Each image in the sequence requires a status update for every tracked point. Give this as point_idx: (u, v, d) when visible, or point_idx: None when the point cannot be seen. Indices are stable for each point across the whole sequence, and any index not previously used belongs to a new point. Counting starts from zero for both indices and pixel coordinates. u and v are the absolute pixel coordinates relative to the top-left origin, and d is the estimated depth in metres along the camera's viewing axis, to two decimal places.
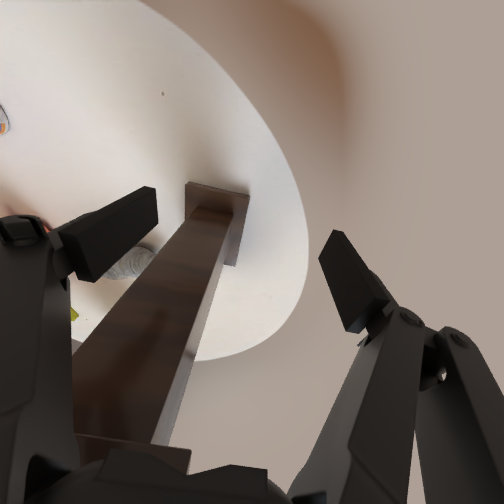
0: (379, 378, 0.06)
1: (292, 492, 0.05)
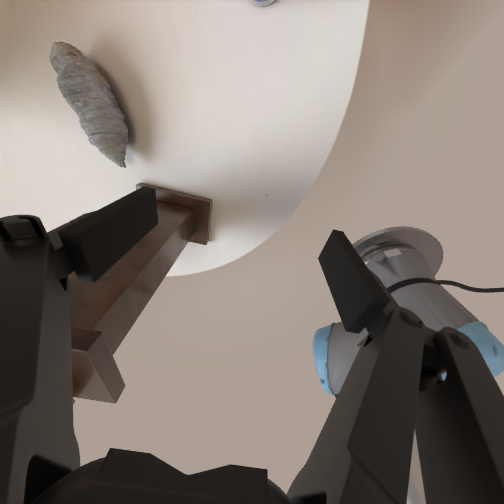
0: (380, 378, 0.06)
1: (292, 492, 0.05)
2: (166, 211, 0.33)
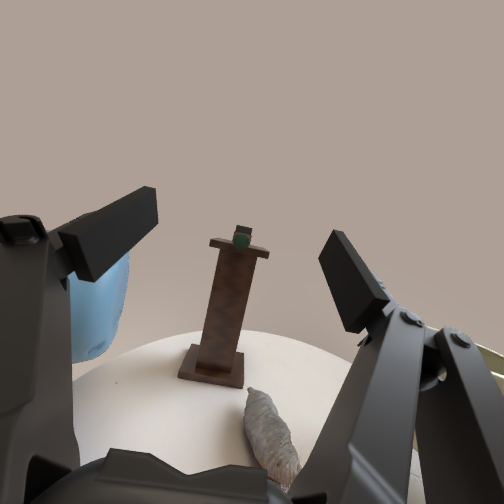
0: (379, 378, 0.06)
1: (292, 492, 0.05)
2: (215, 354, 0.41)
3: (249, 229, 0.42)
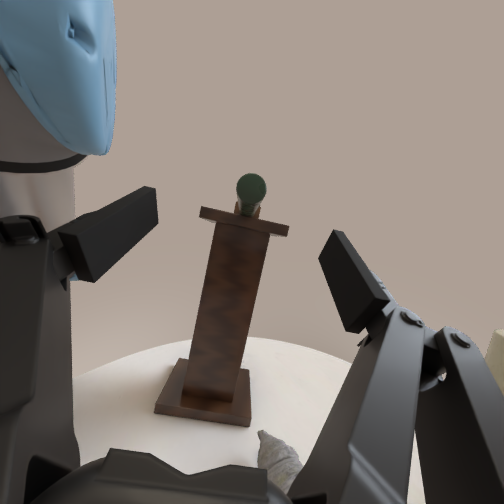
0: (379, 378, 0.06)
1: (292, 492, 0.05)
2: (210, 376, 0.29)
3: None
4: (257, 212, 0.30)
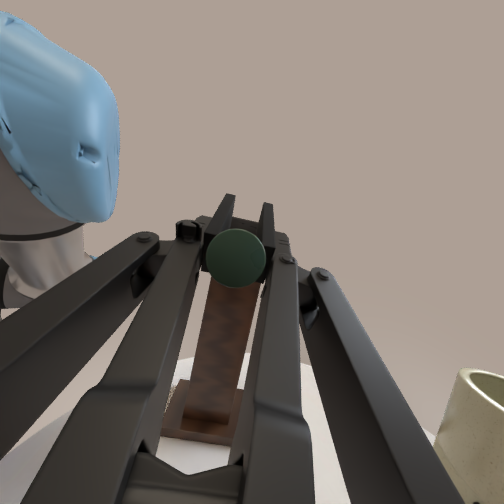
0: (271, 322, 0.06)
1: (230, 461, 0.05)
2: (208, 401, 0.32)
3: (254, 225, 0.22)
4: None
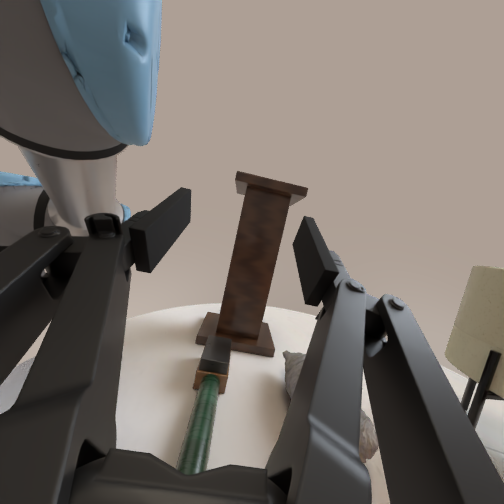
0: (332, 346, 0.06)
1: (267, 472, 0.05)
2: (240, 317, 0.35)
3: (223, 365, 0.24)
4: (223, 382, 0.24)
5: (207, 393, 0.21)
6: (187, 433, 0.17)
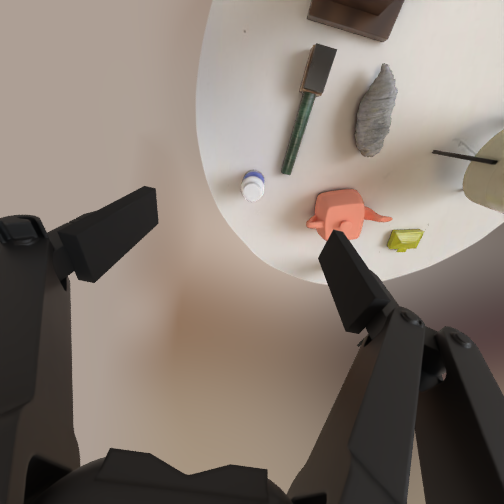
0: (380, 378, 0.06)
1: (292, 492, 0.05)
2: None
3: (319, 92, 0.34)
4: (318, 95, 0.36)
5: (305, 111, 0.37)
6: (293, 132, 0.40)
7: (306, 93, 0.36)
